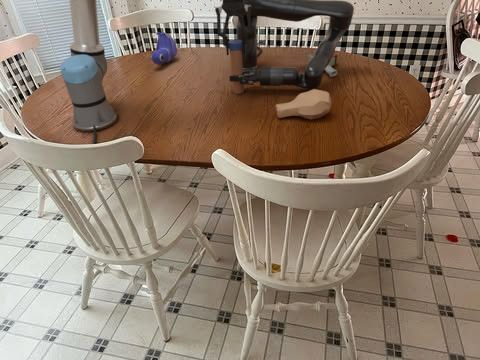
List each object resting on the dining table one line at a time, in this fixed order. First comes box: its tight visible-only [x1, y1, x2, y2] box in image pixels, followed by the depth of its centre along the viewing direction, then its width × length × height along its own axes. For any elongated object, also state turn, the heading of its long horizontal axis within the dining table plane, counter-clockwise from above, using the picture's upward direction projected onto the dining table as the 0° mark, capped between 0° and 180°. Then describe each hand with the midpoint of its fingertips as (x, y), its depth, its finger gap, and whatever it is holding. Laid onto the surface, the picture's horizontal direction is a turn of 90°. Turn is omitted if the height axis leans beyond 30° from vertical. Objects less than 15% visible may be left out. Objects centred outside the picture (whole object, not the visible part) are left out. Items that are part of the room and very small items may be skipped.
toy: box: [150, 31, 178, 69], centre depth 181 cm, size 10×17×25 cm
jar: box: [229, 49, 245, 95], centre depth 144 cm, size 5×5×20 cm
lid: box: [228, 39, 243, 51], centre depth 139 cm, size 6×6×2 cm
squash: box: [274, 88, 332, 120], centre depth 126 cm, size 11×20×9 cm, turn 92°
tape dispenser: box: [308, 51, 338, 78], centre depth 165 cm, size 18×5×20 cm
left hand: (235, 53), depth 141 cm, fingers open, 6 cm apart
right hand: (231, 76), depth 147 cm, fingers closed on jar, 4 cm apart
